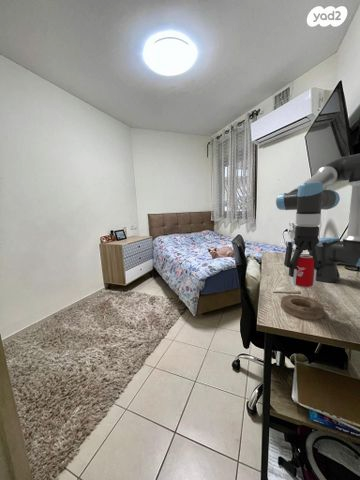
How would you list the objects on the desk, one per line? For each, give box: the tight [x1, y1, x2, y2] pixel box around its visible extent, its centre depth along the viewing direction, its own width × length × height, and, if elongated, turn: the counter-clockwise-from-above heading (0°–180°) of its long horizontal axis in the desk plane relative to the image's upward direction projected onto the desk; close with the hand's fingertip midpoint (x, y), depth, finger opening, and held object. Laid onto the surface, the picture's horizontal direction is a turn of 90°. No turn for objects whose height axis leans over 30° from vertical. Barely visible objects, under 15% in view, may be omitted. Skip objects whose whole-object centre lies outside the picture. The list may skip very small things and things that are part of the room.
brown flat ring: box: [280, 294, 325, 320], centre depth 76 cm, size 14×14×3 cm
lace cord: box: [272, 289, 302, 294], centre depth 92 cm, size 12×1×1 cm, turn 83°
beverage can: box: [295, 253, 314, 289], centre depth 74 cm, size 6×6×12 cm
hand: (302, 284), depth 74 cm, fingers closed on beverage can, 6 cm apart
